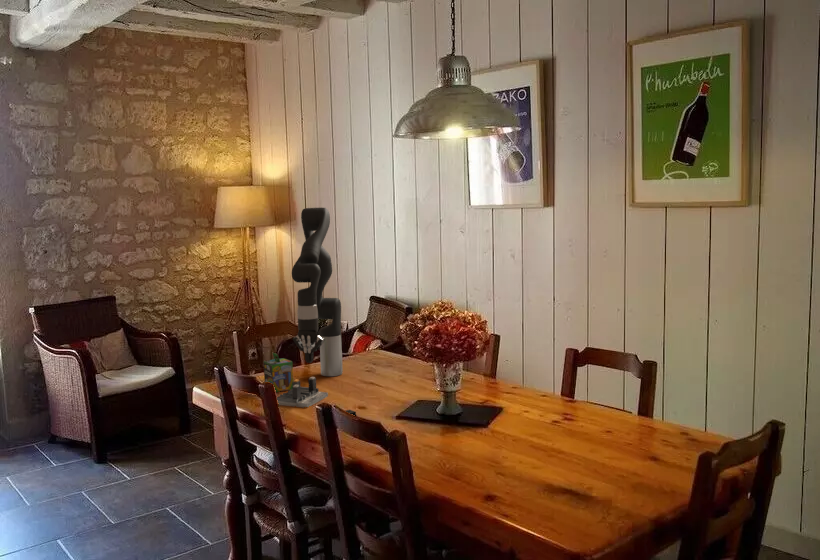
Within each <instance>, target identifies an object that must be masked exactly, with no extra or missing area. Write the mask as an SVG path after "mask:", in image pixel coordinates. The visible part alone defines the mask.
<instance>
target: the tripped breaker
mask: <svg viewBox="0 0 820 560" xmlns="http://www.w3.org/2000/svg"><path fill="white" fill-rule="evenodd" d="M293 380H294V381H293V382H292V384H293V386H294V385H299V386H300V387H301V380H300V379H297V378H296V379H293ZM300 392H301V388H300Z"/></svg>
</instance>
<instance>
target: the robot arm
mask: <svg viewBox="0 0 820 560" xmlns="http://www.w3.org/2000/svg"><path fill="white" fill-rule="evenodd" d="M330 215H331V214H330V211H329V209H328V208H326V207H307V208H306V207H305V208H303V209H302V210H301V215H300V220H301V225H302V230H303V235H304V238H305V241H304V242H303V244H302V246H301V251H300V254H299V257H298V258H297V260H296V261H295V262H294V265H293V266H292V269H291V279H292V280H293V281H294V282H296V283H310V285H309V286H307V287H305V288H301V289H299V290H298V291H297V311H296V315H297V330H298V331H297V335H296V336H294V337H292V341H293V342H294V344H295V345H296V347H297V348H298V350H299V351H300V352H303V353H304V360H305V362H306V363H307V364H311V363H313V361H314V360H315V359H314V352H317V351H320V353H319V358H320V359H319V360H320V361H319V362H320V375H321V376H324V377H337V376H341V375H342V374H343V351H342V321H341V320H342V303H341V300H340V299H339V298H338V297H324V296H323V291H324V290H325V287H326V286H327V284H328V282H329V280H330V278H331V277H332V274H333V264H332V263H333V262H332V258H331V255H330V254H329V252H328V251H327V250H326V248H325V247H324V246H323V245H322V244H323V243H324V240H325V238H326V236H327V233H328V230H329V228H330V224H331V216H330ZM319 320H332V321H331V323H330V324H328V325H326V326H323V327H321V328H320V329H319Z"/></svg>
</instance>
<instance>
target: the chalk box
mask: <svg viewBox="0 0 820 560" xmlns="http://www.w3.org/2000/svg"><path fill="white" fill-rule="evenodd" d="M272 356H273V359H270V360H263V362H262V363H263V374H264V383H265V382H270V383H272V384H273V385H274V387H275V390H276V393H280V391H281V392H284V391H289V390H291V389H292V387H293V384H292V382H293V381H294V380H295V379H294V369H293V368H294V367H293V364H294V363H293V361H292V360H290V359H287V358H284V357H283V358H279V354H277V353H275V352H272Z"/></svg>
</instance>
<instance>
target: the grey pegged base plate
mask: <svg viewBox="0 0 820 560" xmlns="http://www.w3.org/2000/svg"><path fill="white" fill-rule="evenodd" d="M307 382H308V387H305V386H301V385H300V386H299V385H294V386H293V387H292V389H290V390H287V392H282V394H279V396H277V400H278V403H279V405H278V406H287V407H295V406H296V407H297V408H304V407H308V408H309V406H310V407H311V406H313V405H315V404H317V403H318V402H320V401H323V400H324V399H326V398H327V397H329V393H328V392H326V391H320V390H319V387H317V378H316V377H315V376H311V377H309V378H308V381H307ZM300 388H301V392H300Z"/></svg>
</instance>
